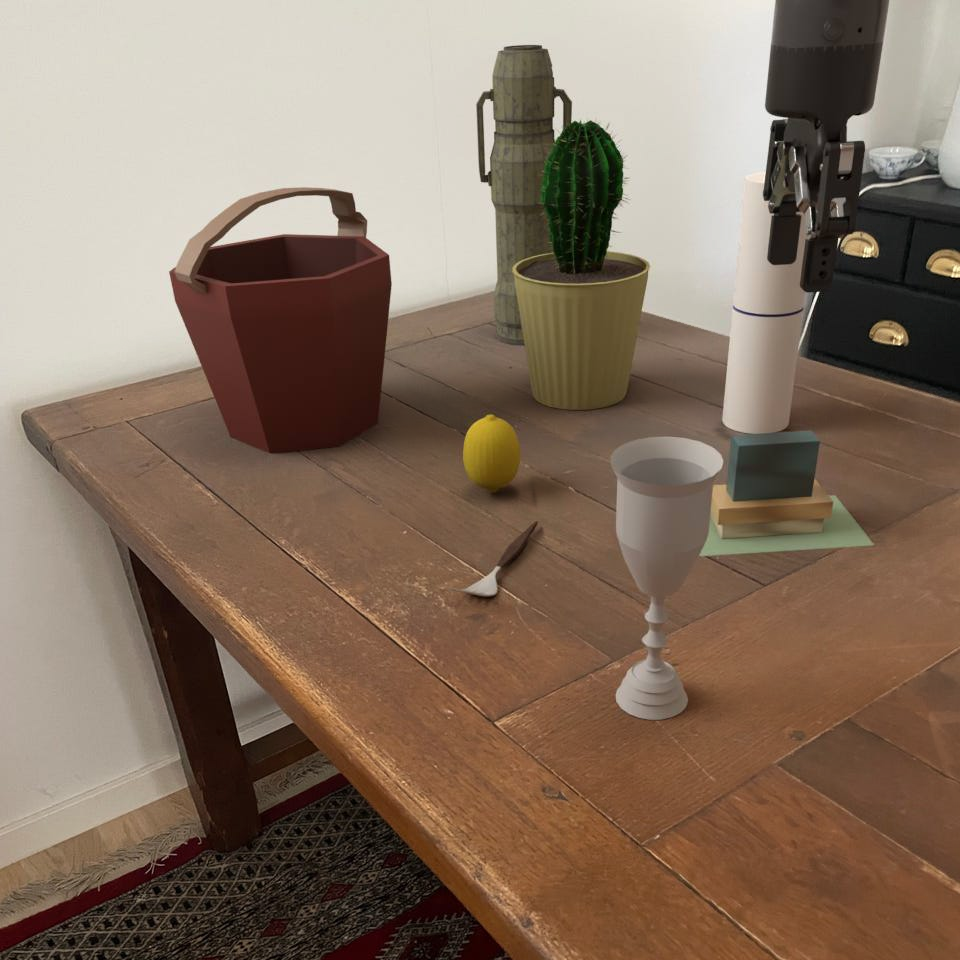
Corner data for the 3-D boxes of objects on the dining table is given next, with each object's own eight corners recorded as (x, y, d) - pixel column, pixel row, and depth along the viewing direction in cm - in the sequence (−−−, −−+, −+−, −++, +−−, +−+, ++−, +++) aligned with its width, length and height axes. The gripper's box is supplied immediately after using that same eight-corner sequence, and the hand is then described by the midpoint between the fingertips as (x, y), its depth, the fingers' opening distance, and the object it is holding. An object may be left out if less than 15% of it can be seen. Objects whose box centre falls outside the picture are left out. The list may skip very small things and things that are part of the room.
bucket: (358, 376, 131) (335, 164, 118) (449, 427, 116) (434, 189, 102) (174, 422, 121) (124, 195, 107) (246, 484, 105) (199, 227, 91)
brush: (810, 509, 94) (823, 423, 90) (828, 533, 90) (843, 445, 86) (703, 516, 94) (710, 430, 89) (715, 540, 90) (724, 452, 85)
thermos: (574, 342, 139) (577, 46, 120) (488, 347, 139) (477, 51, 120) (565, 323, 147) (566, 41, 128) (483, 328, 146) (472, 46, 127)
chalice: (700, 733, 68) (724, 487, 59) (598, 725, 70) (605, 483, 60) (700, 671, 74) (722, 438, 65) (606, 664, 76) (614, 434, 66)
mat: (834, 498, 97) (835, 494, 96) (874, 549, 88) (874, 545, 88) (666, 509, 96) (666, 505, 96) (690, 560, 88) (690, 556, 88)
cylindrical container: (711, 426, 113) (732, 181, 99) (737, 405, 117) (761, 169, 104) (774, 438, 109) (805, 186, 95) (798, 416, 114) (831, 173, 100)
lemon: (480, 477, 104) (476, 401, 100) (530, 485, 102) (528, 408, 98) (455, 499, 100) (450, 421, 96) (506, 508, 98) (504, 429, 94)
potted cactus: (509, 416, 118) (501, 127, 101) (520, 372, 130) (515, 108, 114) (644, 417, 116) (659, 122, 99) (643, 371, 128) (655, 103, 112)
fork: (550, 528, 94) (550, 509, 93) (479, 615, 82) (478, 594, 81) (524, 524, 95) (524, 504, 94) (450, 609, 83) (449, 588, 82)
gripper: (922, 40, 65) (878, 298, 74) (844, 29, 77) (815, 252, 86) (806, 46, 65) (776, 304, 74) (746, 34, 77) (726, 257, 86)
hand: (797, 276), depth 80 cm, fingers open, 8 cm apart
